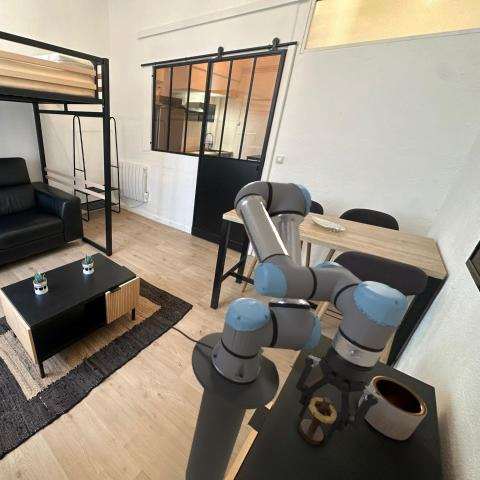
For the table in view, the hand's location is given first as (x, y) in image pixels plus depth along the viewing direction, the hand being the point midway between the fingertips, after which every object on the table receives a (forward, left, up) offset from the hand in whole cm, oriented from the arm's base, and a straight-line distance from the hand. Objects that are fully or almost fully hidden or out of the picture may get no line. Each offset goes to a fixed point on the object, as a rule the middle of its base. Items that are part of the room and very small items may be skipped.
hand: (315, 423), depth 61 cm
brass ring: (0, 0, +5) cm, 5 cm away
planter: (+12, +19, -4) cm, 23 cm away
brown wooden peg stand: (0, 0, -4) cm, 4 cm away
